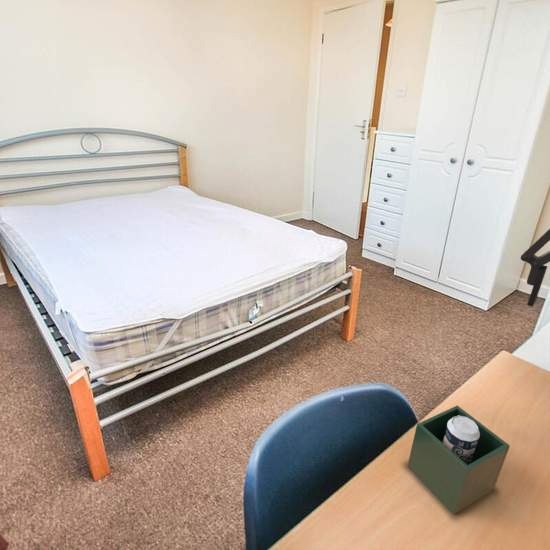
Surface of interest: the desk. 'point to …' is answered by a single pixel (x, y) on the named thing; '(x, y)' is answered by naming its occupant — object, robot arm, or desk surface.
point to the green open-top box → (455, 462)
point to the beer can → (462, 437)
